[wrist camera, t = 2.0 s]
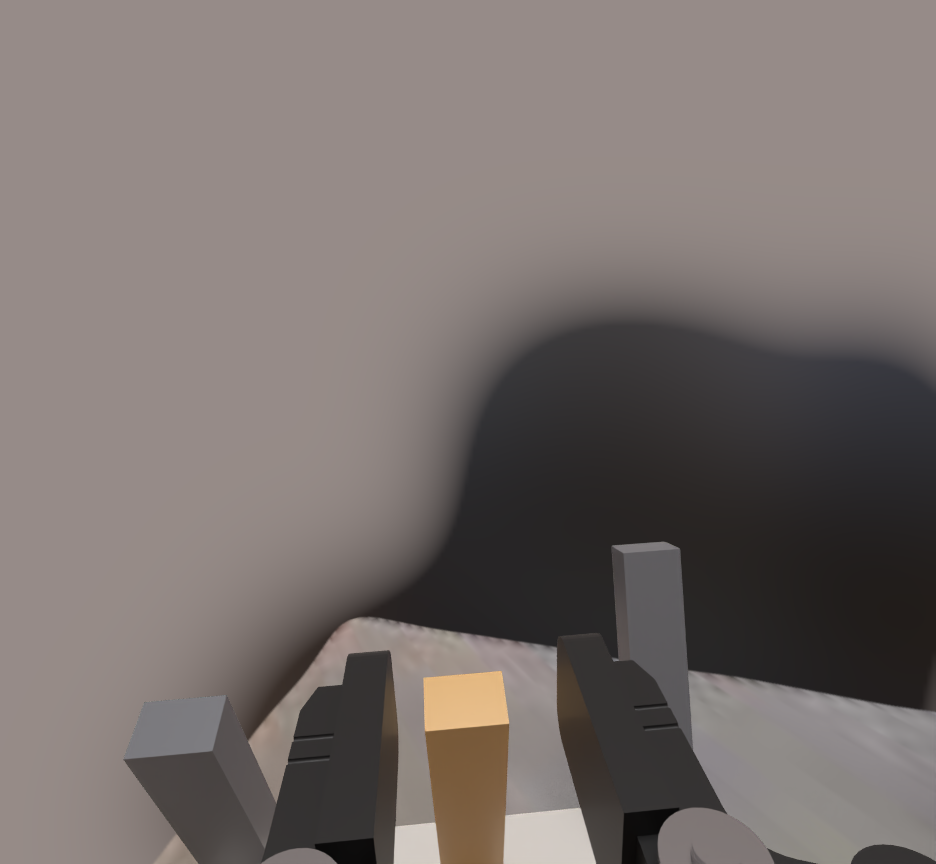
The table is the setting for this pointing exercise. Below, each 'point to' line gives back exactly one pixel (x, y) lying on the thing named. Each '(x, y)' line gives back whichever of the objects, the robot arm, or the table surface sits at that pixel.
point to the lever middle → (468, 764)
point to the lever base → (511, 840)
